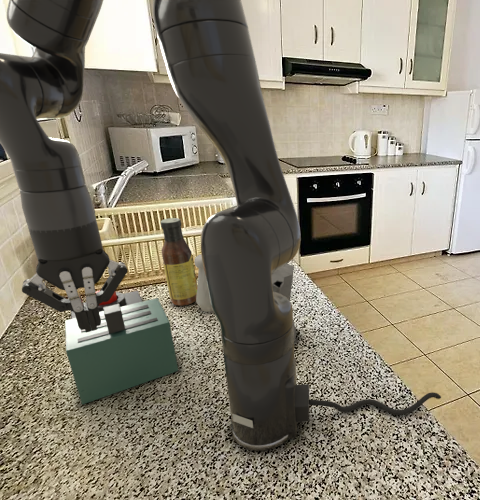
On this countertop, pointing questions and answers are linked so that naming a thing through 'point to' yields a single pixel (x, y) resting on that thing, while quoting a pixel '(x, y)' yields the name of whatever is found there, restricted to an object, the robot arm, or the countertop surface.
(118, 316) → the toaster slider
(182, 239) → the sauce bottle
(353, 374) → the countertop surface
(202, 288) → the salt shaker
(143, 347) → the toaster
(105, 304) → the button
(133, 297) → the button base
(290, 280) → the coffeepot
